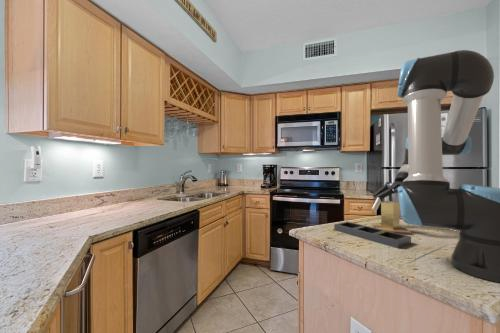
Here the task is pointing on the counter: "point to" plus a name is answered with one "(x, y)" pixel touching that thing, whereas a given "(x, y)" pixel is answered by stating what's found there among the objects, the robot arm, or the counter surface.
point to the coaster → (399, 231)
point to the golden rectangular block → (390, 215)
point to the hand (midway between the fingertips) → (389, 213)
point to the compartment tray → (374, 234)
